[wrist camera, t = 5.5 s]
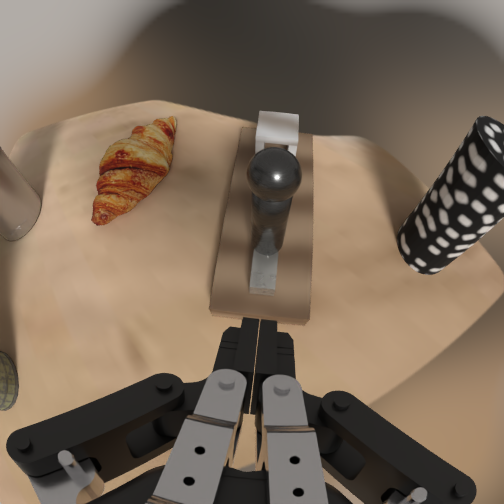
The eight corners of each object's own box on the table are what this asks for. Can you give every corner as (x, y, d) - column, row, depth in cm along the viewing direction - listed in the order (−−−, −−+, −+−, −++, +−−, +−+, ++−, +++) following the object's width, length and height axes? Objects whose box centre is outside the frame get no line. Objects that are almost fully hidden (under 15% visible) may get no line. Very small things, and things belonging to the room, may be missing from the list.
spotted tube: (452, 241, 37) (536, 153, 19) (436, 286, 34) (540, 203, 16) (408, 209, 39) (478, 104, 21) (387, 251, 36) (472, 142, 18)
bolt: (281, 296, 30) (305, 223, 17) (241, 292, 30) (235, 215, 17) (288, 197, 35) (305, 99, 22) (254, 193, 35) (256, 94, 22)
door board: (304, 325, 32) (319, 307, 25) (212, 315, 32) (202, 295, 26) (309, 148, 43) (317, 110, 36) (242, 141, 43) (241, 102, 37)
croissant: (164, 138, 49) (137, 105, 43) (207, 126, 44) (179, 86, 38) (98, 239, 40) (59, 206, 34) (136, 240, 34) (90, 199, 29)
